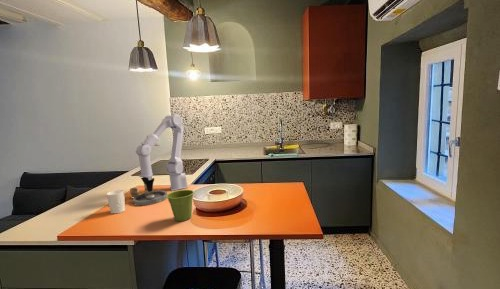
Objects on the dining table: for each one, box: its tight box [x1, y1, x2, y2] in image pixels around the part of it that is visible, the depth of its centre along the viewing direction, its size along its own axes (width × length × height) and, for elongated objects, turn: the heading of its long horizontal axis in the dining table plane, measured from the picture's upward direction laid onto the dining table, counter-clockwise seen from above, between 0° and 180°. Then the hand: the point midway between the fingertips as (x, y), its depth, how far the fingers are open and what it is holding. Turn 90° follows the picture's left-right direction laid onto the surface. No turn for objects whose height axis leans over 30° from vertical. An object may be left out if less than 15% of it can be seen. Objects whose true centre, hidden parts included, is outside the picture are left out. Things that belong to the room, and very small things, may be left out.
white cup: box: [105, 189, 126, 214], centre depth 146 cm, size 8×8×10 cm
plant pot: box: [166, 189, 195, 222], centre depth 129 cm, size 12×12×11 cm
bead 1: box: [129, 186, 140, 198], centre depth 169 cm, size 4×4×5 cm
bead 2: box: [143, 184, 155, 194], centre depth 164 cm, size 4×4×5 cm
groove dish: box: [132, 190, 168, 206], centre depth 160 cm, size 18×18×2 cm
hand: (149, 190), depth 165 cm, fingers closed on bead 2, 4 cm apart
